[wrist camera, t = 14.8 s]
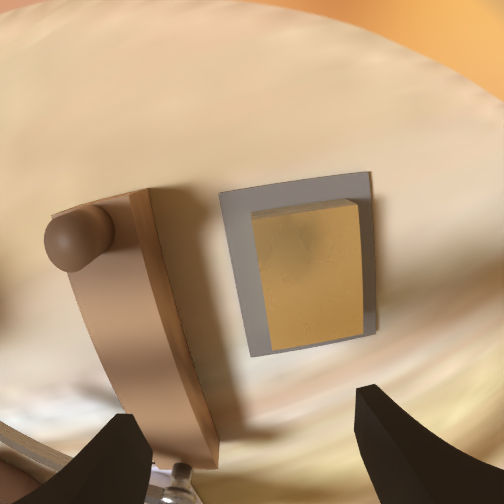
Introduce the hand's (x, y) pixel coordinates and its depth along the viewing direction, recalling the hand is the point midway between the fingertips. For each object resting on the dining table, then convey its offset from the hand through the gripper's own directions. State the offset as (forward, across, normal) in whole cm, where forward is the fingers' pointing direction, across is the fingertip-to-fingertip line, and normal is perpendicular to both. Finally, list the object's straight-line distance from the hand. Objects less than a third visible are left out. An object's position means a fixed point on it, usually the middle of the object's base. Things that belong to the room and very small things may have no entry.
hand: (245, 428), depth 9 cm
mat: (+10, -4, -1) cm, 10 cm away
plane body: (+10, +6, +2) cm, 12 cm away
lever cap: (+10, -4, -2) cm, 10 cm away
